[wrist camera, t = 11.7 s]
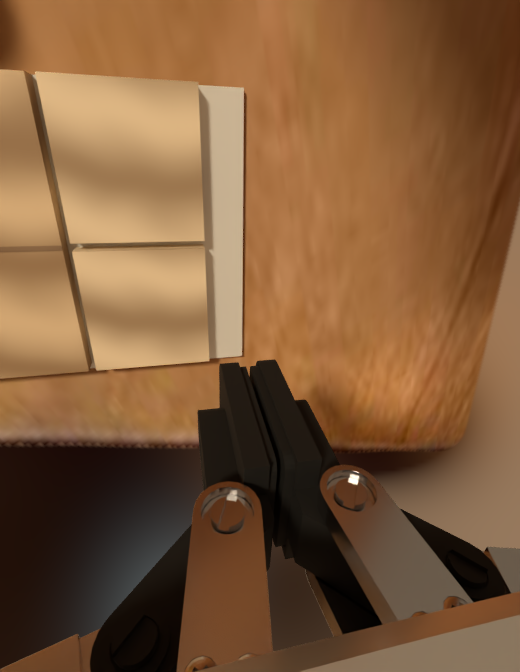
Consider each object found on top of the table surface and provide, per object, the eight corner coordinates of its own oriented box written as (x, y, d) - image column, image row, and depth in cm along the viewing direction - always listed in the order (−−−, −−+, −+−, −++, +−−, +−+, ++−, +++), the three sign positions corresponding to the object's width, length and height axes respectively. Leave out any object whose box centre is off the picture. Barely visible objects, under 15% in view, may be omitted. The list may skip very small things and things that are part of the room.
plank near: (42, 75, 19) (34, 71, 18) (196, 84, 21) (198, 81, 20) (74, 239, 23) (70, 243, 22) (203, 236, 25) (204, 240, 24)
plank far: (76, 247, 24) (71, 252, 22) (203, 244, 25) (204, 248, 24) (99, 361, 27) (96, 370, 26) (208, 353, 29) (209, 361, 28)
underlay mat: (-167, 63, 18) (-173, 61, 18) (242, 88, 22) (243, 88, 22) (-40, 376, 26) (-42, 379, 26) (241, 353, 30) (242, 355, 30)
